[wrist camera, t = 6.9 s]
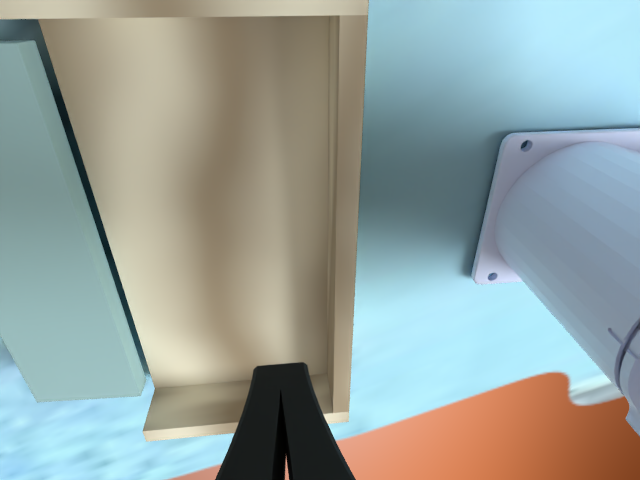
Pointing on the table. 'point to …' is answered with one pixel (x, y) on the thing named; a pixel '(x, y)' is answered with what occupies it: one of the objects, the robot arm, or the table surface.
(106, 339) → the tailgate
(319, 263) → the beige tray
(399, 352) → the table surface
